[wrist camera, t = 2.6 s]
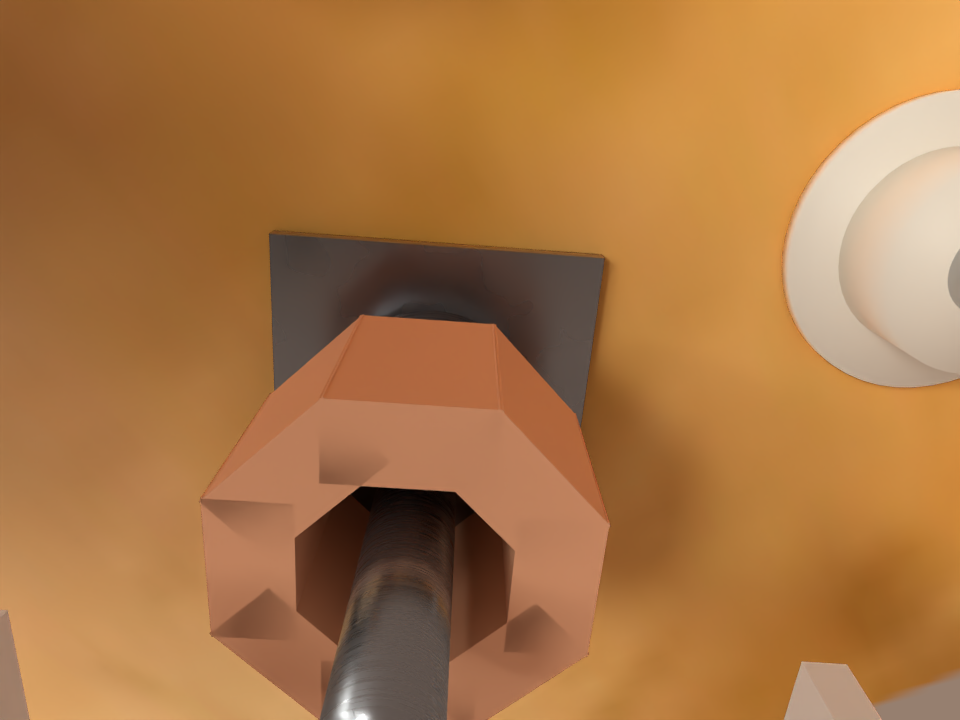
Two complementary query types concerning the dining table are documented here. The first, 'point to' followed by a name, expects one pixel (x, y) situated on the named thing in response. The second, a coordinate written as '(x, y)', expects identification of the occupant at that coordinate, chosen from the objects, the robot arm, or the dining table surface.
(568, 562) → the collar
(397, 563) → the stand
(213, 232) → the dining table surface
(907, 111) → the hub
